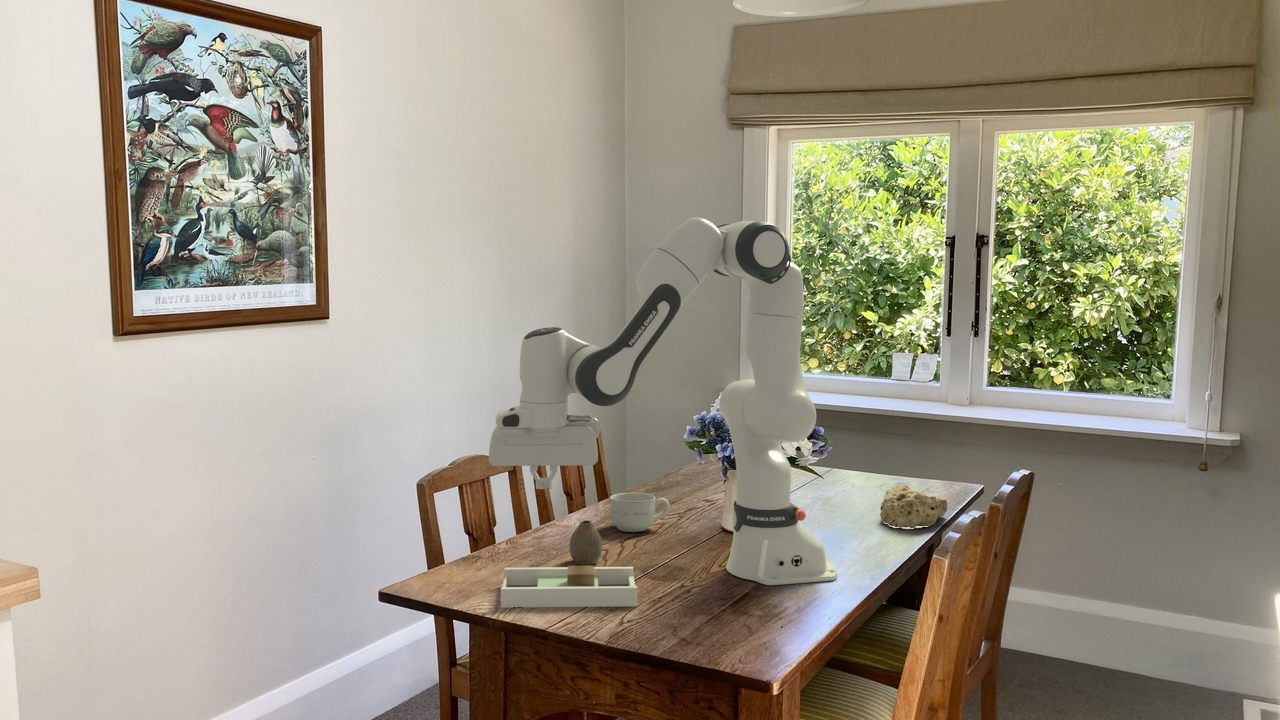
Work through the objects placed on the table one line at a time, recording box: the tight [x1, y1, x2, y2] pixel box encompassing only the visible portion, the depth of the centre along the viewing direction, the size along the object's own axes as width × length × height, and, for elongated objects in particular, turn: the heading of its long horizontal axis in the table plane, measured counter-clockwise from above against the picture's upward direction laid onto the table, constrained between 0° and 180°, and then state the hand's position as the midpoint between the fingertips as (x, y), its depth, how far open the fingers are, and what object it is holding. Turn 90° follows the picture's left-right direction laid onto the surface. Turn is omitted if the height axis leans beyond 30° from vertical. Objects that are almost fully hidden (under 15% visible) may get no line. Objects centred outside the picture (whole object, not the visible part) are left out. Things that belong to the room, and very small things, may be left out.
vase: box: [568, 520, 603, 566], centre depth 204 cm, size 7×7×9 cm
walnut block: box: [567, 565, 595, 587], centre depth 184 cm, size 5×5×3 cm
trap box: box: [500, 566, 639, 609], centre depth 184 cm, size 25×12×4 cm, turn 94°
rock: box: [879, 485, 948, 529], centre depth 240 cm, size 21×14×10 cm
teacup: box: [609, 492, 671, 533], centre depth 228 cm, size 14×11×8 cm
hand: (543, 488), depth 182 cm, fingers closed
